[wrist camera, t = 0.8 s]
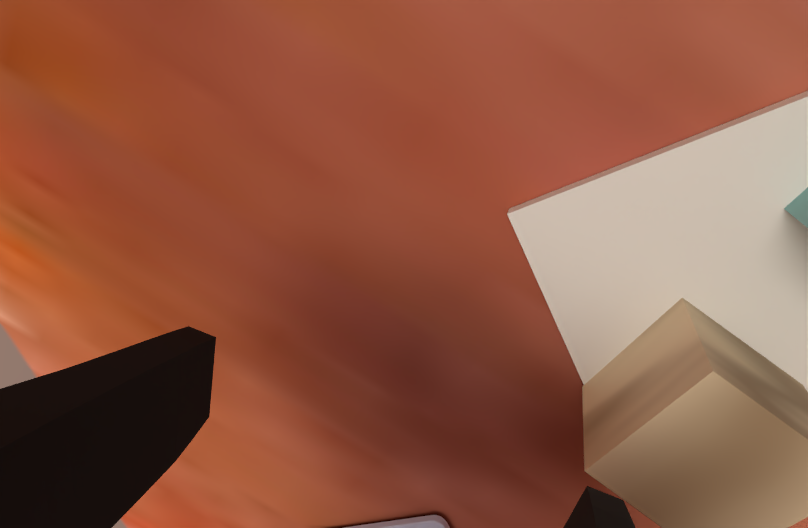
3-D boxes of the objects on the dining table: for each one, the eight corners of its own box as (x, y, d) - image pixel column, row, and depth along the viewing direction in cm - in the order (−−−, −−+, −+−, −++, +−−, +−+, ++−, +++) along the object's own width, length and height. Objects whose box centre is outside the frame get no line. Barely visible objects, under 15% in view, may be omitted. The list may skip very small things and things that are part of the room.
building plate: (1146, 389, 14) (1168, 403, 13) (625, 470, 20) (627, 482, 19) (1086, -20, 11) (1111, -23, 11) (509, 208, 17) (507, 214, 16)
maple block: (802, 384, 16) (868, 483, 12) (688, 463, 18) (716, 567, 14) (682, 297, 16) (713, 370, 12) (582, 386, 18) (584, 471, 14)
